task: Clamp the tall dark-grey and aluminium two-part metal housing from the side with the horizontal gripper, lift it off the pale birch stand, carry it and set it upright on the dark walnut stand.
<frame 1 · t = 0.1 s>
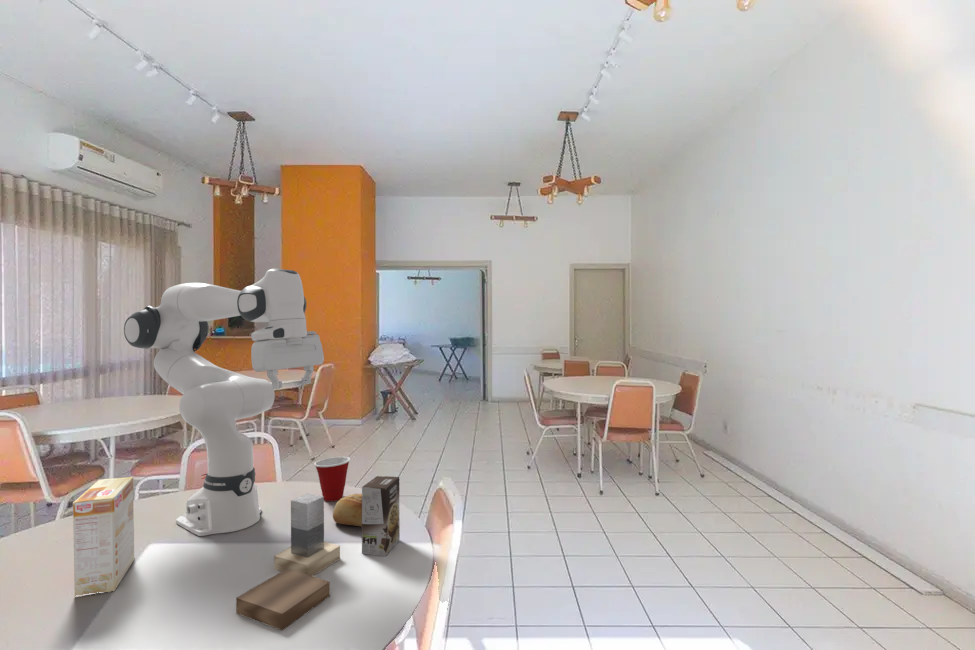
hand: (292, 386, 125), 39 cm above the table, tool pointing down, fingers open, 8 cm apart
bread roll: (357, 525, 135), on the table
coffee box: (381, 547, 121), on the table
walnut stand: (284, 604, 97), on the table
birch stand: (307, 563, 113), on the table
plastic cup: (332, 498, 154), on the table
housing: (307, 550, 113), point 3 cm above the table, touching birch stand
coffeecake box: (106, 578, 107), on the table
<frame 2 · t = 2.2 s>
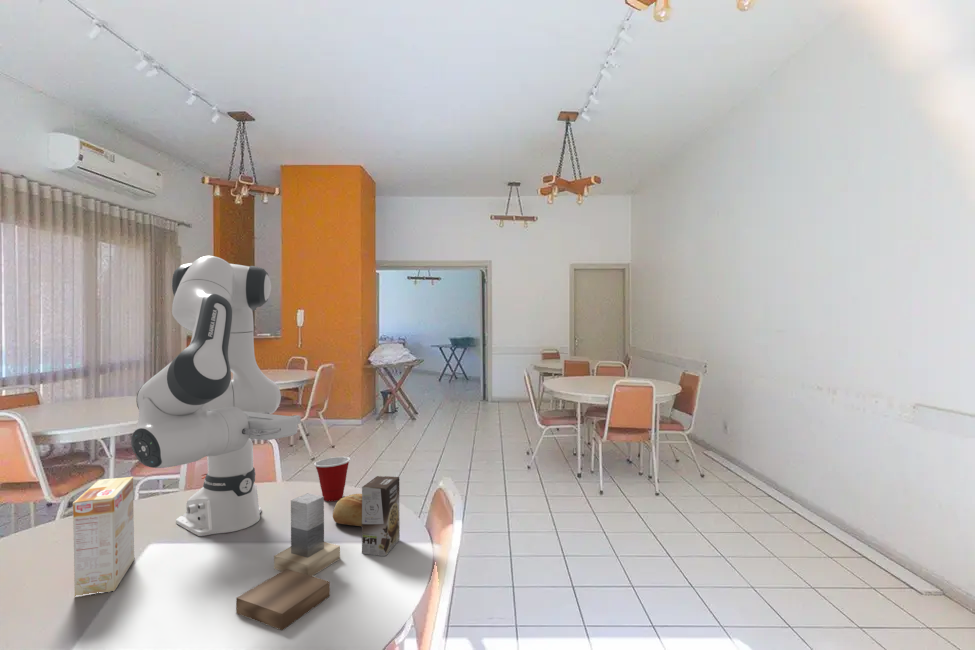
hand: (282, 417, 111), 34 cm above the table, tool horizontal, fingers open, 8 cm apart
nothing on the table moved.
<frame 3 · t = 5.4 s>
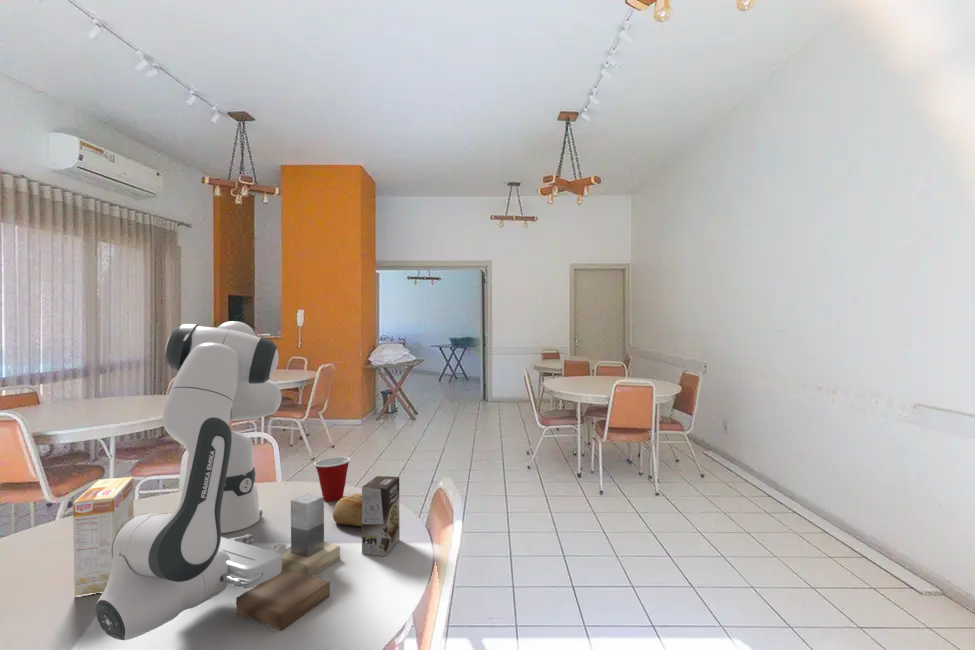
hand: (267, 542, 103), 9 cm above the table, tool horizontal, fingers open, 8 cm apart
nothing on the table moved.
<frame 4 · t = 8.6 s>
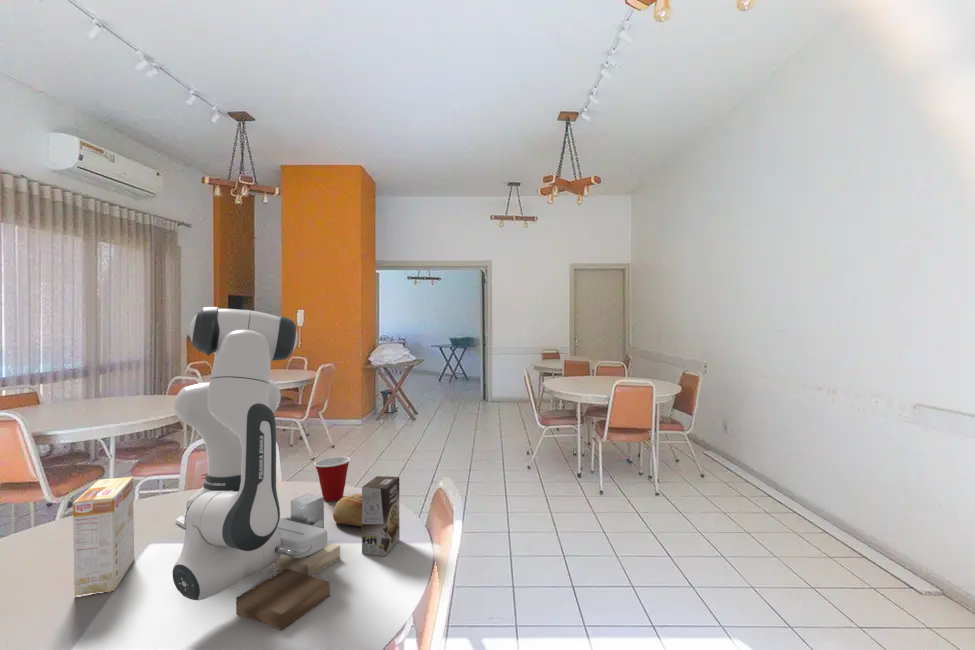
hand: (310, 520, 114), 10 cm above the table, tool horizontal, fingers closed on housing, 5 cm apart
housing: (307, 550, 113), point 3 cm above the table, touching birch stand, gripper
everything else where it was.
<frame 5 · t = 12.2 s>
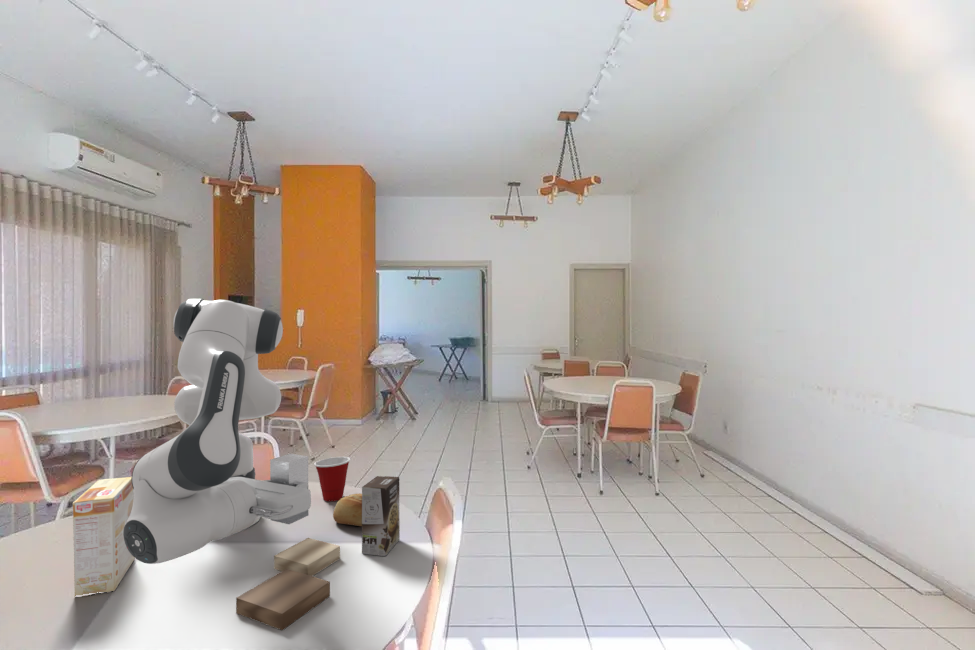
hand: (293, 484, 100), 23 cm above the table, tool horizontal, fingers closed on housing, 5 cm apart
housing: (289, 517, 99), point 16 cm above the table, touching gripper
everything else where it was.
when the fingers open (11 cm above the table, at t = 16.1 s): housing drops 1 cm, resting on walnut stand.
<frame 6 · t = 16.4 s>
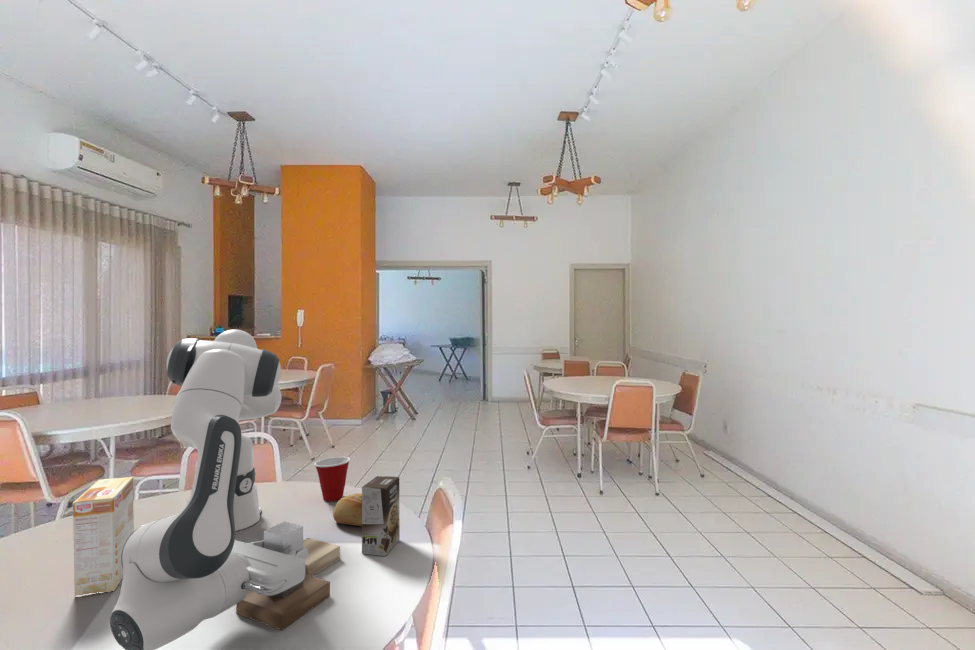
hand: (287, 547, 98), 11 cm above the table, tool horizontal, fingers open, 8 cm apart
housing: (283, 589, 97), point 3 cm above the table, touching walnut stand
everything else where it was.
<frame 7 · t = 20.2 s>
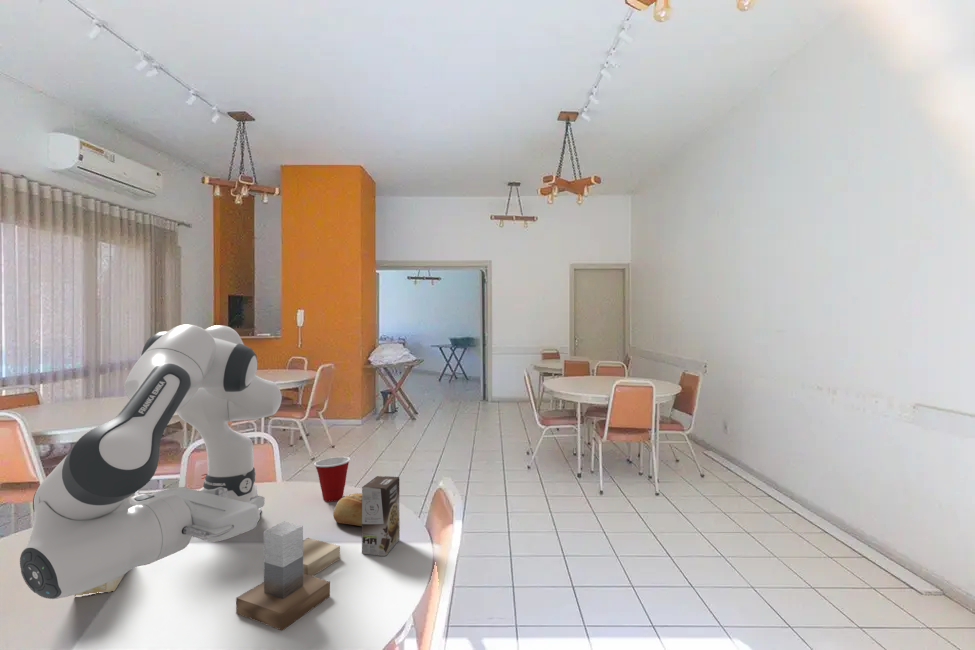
hand: (242, 495, 88), 24 cm above the table, tool horizontal, fingers open, 8 cm apart
nothing on the table moved.
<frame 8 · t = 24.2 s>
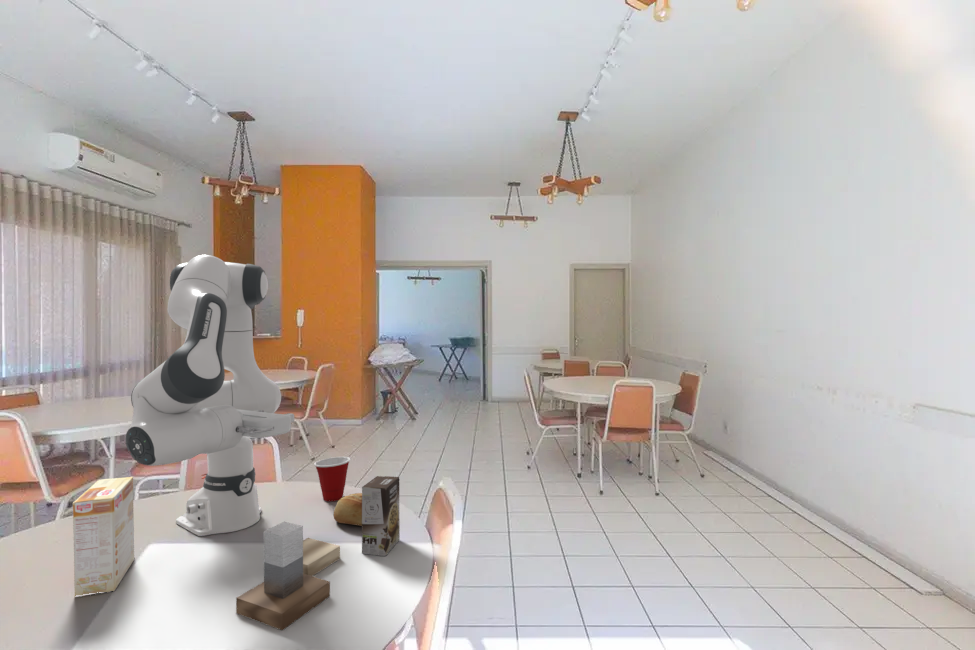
hand: (276, 415, 112), 34 cm above the table, tool horizontal, fingers open, 8 cm apart
nothing on the table moved.
at the end: housing inside the target area on the walnut stand (0.1 cm from its centre), point 3.0 cm above the walnut stand's base; housing tilted 0°; the gripper is holding nothing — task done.
